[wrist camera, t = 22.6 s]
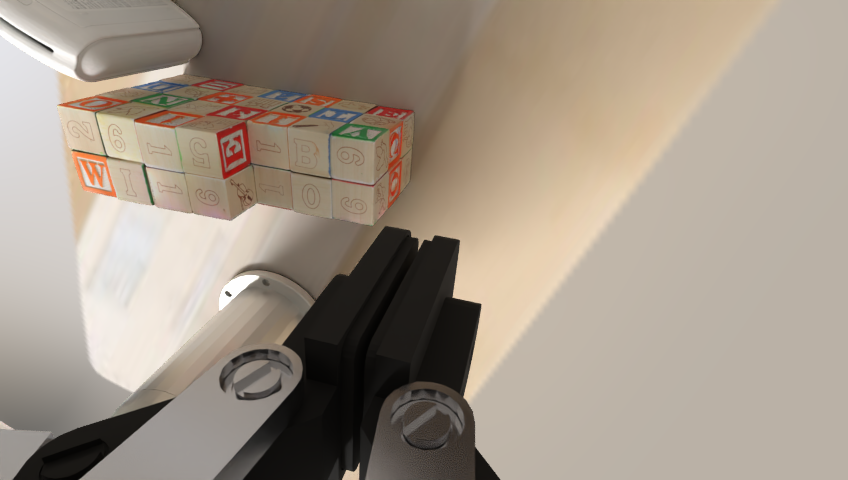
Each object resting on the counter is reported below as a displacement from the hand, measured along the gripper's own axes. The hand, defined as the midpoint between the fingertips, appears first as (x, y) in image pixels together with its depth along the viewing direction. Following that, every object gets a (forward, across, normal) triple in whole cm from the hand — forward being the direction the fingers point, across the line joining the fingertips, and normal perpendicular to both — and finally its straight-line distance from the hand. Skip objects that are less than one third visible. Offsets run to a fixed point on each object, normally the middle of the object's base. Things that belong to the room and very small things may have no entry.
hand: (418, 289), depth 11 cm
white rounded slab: (+28, +30, -2) cm, 41 cm away
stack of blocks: (+28, +18, +6) cm, 34 cm away
